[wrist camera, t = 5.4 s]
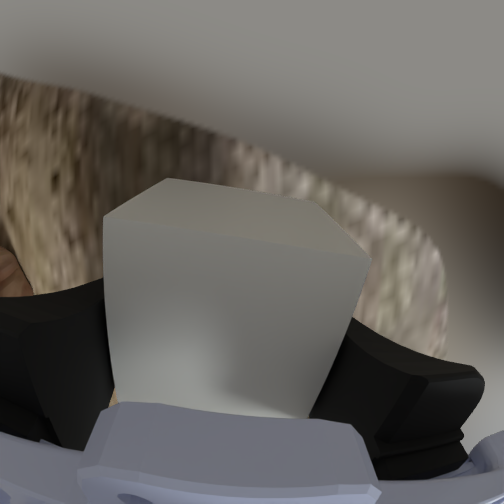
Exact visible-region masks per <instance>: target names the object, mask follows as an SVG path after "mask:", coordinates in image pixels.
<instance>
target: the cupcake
mask: <svg viewBox="0 0 504 504" xmlns="http://www.w3.org/2000/svg"><path fill="white" fill-rule="evenodd" d="M21 296H33V290H32V288H31V286H30V285H29V283H28V281H27V280H26V278H25V276H24V274H23V272H22V270H21V268H20V266H19V264H18V262H17V259H16V257H15V256H14V255H13V254H12V253H11V252H10V251H8V250H7V249H5V248H3V247H0V297H21Z"/></svg>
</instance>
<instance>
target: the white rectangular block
mask: <svg viewBox="0 0 504 504" xmlns="http://www.w3.org/2000/svg"><path fill="white" fill-rule="evenodd" d="M371 261H372V258H371V257H370V256H369V255H368V254H367V253H366V252H365V251H364V250H363V249H362V248H361V247H360V246H359V245H358V244H357V243H356V242H355V241H354V240H353V239H352V238H351V237H350V236H349V235H348V234H347V233H346V232H345V231H344V230H343V229H342V228H341V227H340V226H339V225H338V224H337V223H336V222H335V221H334V220H333V219H332V218H331V217H330V216H329V215H328V214H327V213H326V212H325V211H324V210H323V209H322V208H321V207H320V206H319V205H318V204H317V203H316V202H313V201H308V200H302V199H297V198H292V197H287V196H281V195H276V194H270V193H265V192H259V191H253V190H247V189H241V188H235V187H229V186H222V185H216V184H209V183H202V182H195V181H188V180H181V179H173V178H166V179H164V180H163V181H161V182H159V183H157V184H156V185H154V186H152V187H150V188H149V189H147V190H145V191H144V192H142V193H140V194H139V195H137V196H135V197H134V198H132V199H130V200H129V201H127V202H125V203H124V204H122V205H121V206H119V207H117V208H116V209H114V210H113V211H111V212H109V213H108V214H106V215H105V216H103V275H104V295H105V310H106V321H107V332H108V341H109V349H110V357H111V364H112V371H113V377H114V383H115V389H116V395H117V400H118V403H120V402H123V401H128V402H147V403H162V404H167V405H172V406H178V407H183V408H190V409H196V410H203V411H210V412H217V413H226V414H235V415H245V416H257V417H272V418H296V419H307V417H308V415H309V413H310V411H311V409H312V407H313V405H314V403H315V401H316V399H317V397H318V395H319V393H320V391H321V389H322V386H323V384H324V382H325V380H326V378H327V376H328V373H329V371H330V369H331V367H332V364H333V362H334V360H335V357H336V355H337V353H338V350H339V348H340V346H341V343H342V341H343V338H344V336H345V333H346V331H347V328H348V326H349V323H350V321H351V318H352V315H353V313H354V310H355V307H356V305H357V302H358V299H359V296H360V294H361V291H362V288H363V285H364V282H365V279H366V276H367V273H368V270H369V267H370V264H371Z"/></svg>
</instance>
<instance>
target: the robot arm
mask: <svg viewBox="0 0 504 504" xmlns="http://www.w3.org/2000/svg"><path fill="white" fill-rule="evenodd" d="M484 386H485V381H484V378H483V377H482V376H481V375H480V373H479V372H478V371H477V370H476V369H475V368H474V367H472V366H470V365H465V364H459V363H454V362H449V361H444V360H441V359H437V358H434V357H430V356H427V355H424V354H421V353H418V352H416V351H413V350H411V349H408V348H406V347H403V346H401V345H399V344H397V343H395V342H393V341H391V340H389V339H387V338H385V337H383V336H381V335H379V334H378V333H376V332H374V331H373V330H371V329H370V328H368V327H366V326H365V325H363V324H362V323H360V322H359V321H357V320H356V319H355V318H353V317H352V318H351V321H350V323H349V326H348V328H347V331H346V333H345V336H344V338H343V341H342V343H341V346H340V348H339V350H338V353H337V355H336V357H335V360H334V362H333V364H332V367H331V369H330V371H329V373H328V376H327V378H326V380H325V382H324V384H323V386H322V389H321V391H320V393H319V395H318V397H317V399H316V401H315V403H314V405H313V407H312V409H311V411H310V413H309V418H310V419H296V418H272V417H257V416H245V415H235V414H226V413H217V412H210V411H203V410H196V409H190V408H183V407H178V406H172V405H167V404H162V403H147V402H128V401H123V402H120V403H118V404H115V405H113V406H111V407H109V408H108V406H109V403H110V400H111V397H112V394H113V391H114V388H115V383H114V377H113V371H112V364H111V357H110V349H109V341H108V332H107V321H106V310H105V295H104V277H103V278H101V279H98V280H95V281H92V282H90V283H87V284H84V285H81V286H78V287H75V288H71V289H67V290H63V291H59V292H54V293H47V294H40V295H33V296H21V297H0V504H503V503H504V431H500V432H497V433H495V434H493V435H490V436H488V437H485V438H484V439H483V440H481V441H480V442H479V443H478V444H477V445H476V446H475V447H474V448H473V449H472V451H471V452H470V454H469V455H468V454H467V453H466V451H465V450H464V448H463V446H462V444H461V443H460V440H462V439H463V438H464V434H463V432H462V431H461V429H460V428H461V426H462V425H463V424H464V423H465V421H466V420H467V418H468V417H469V416H470V414H471V413H472V412H473V410H474V409H475V408H476V406H477V404H478V403H479V401H480V399H481V397H482V395H483V392H484Z"/></svg>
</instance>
